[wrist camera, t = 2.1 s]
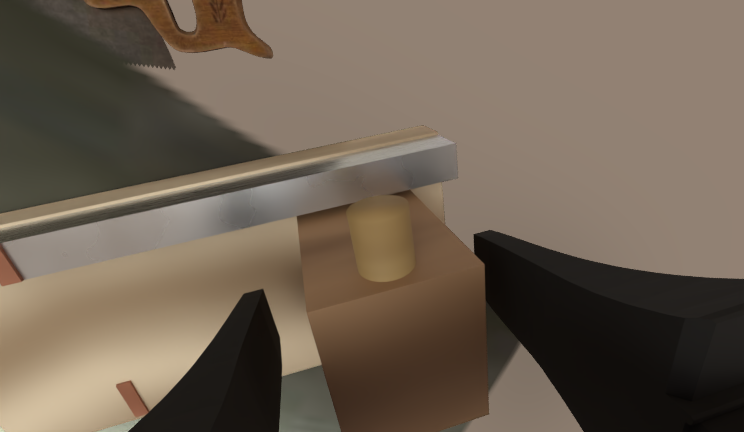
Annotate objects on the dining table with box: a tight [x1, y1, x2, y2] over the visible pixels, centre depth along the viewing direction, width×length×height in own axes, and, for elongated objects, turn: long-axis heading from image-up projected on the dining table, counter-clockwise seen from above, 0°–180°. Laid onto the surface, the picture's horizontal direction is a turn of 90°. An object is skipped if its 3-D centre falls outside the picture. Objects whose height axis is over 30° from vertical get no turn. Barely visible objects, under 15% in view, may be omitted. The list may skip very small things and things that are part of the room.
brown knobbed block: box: [297, 190, 489, 432], centre depth 12 cm, size 8×4×6 cm, turn 9°
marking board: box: [0, 125, 458, 432], centre depth 14 cm, size 9×18×3 cm, turn 99°
